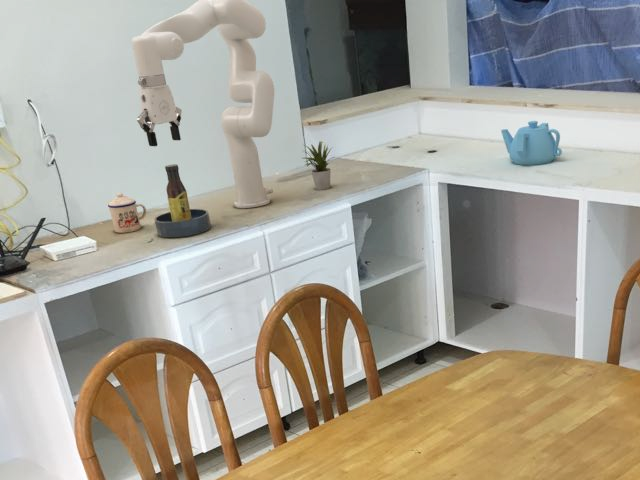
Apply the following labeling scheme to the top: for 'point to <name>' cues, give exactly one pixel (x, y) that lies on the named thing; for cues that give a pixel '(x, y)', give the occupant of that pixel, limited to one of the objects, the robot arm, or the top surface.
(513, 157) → the teapot
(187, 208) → the sauce bottle
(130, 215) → the teacup with lid
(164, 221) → the bowl
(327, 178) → the house plant
